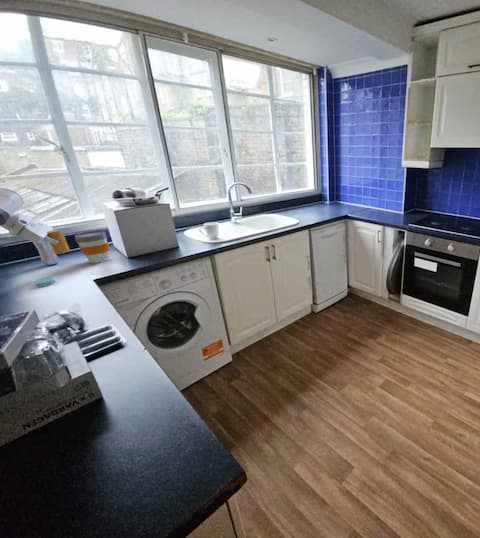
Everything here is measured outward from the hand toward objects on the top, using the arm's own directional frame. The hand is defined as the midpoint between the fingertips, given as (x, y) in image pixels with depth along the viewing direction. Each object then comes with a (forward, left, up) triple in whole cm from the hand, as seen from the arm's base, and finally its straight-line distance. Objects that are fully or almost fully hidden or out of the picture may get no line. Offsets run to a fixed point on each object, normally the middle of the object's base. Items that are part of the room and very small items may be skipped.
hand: (59, 241), depth 142 cm
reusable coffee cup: (+11, +10, -16) cm, 22 cm away
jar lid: (-9, -12, -15) cm, 21 cm away
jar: (-1, 0, -5) cm, 5 cm away
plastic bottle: (-9, +21, -16) cm, 28 cm away
